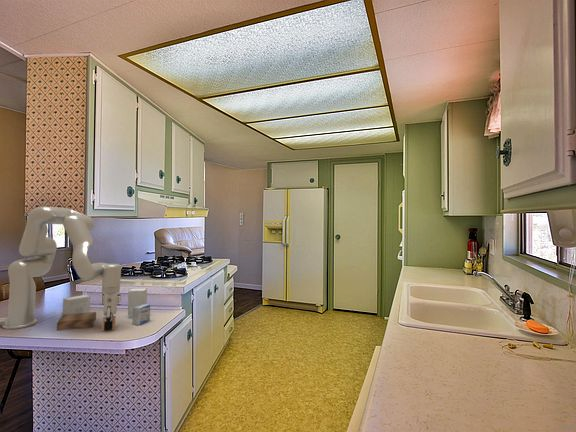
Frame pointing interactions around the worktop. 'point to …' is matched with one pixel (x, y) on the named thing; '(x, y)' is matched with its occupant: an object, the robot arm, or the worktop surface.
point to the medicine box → (141, 314)
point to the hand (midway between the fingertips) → (108, 327)
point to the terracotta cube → (112, 323)
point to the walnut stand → (76, 321)
